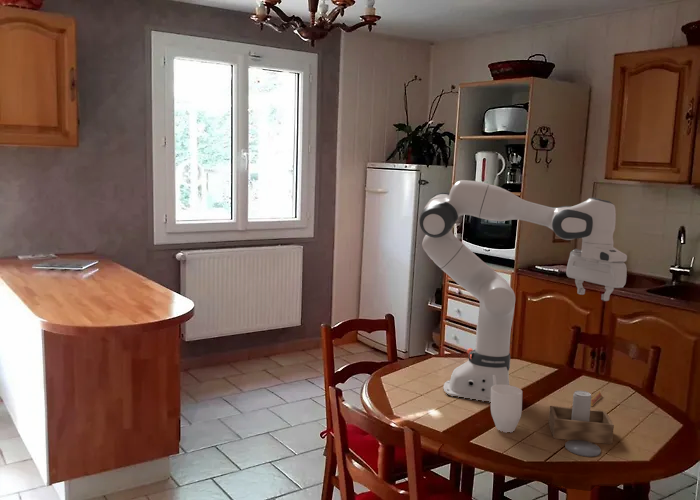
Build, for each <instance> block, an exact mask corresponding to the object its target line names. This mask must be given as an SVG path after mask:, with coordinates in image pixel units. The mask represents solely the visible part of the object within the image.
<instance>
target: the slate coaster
mask: <svg viewBox="0 0 700 500" xmlns="http://www.w3.org/2000/svg"><path fill="white" fill-rule="evenodd" d="M564 447H565V449H566V450H567V451H569V452H570V453H572V454H574V455H577V456H582V457H591V458H592V457H598V456H600V455H601V451H602V450H601V448H600V447H599V445H597V444H595V443H594V442H588V441H583V440H568V441H566V442H565V446H564Z"/></svg>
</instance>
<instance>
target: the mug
mask: <svg viewBox="0 0 700 500" xmlns="http://www.w3.org/2000/svg"><path fill="white" fill-rule="evenodd" d="M522 411H523V390H522V389H521V388H519V387H517V386H515V385H510V384H509V385H494V386H492V387H491V403H490V414H491V417H492V419H493V422H494V425H495V428H496V429H497V431H499V430H500V431H499V432H502V431H503V432H502V433H507V432H510V433H513V431H515V430H516V428H517V426H518V424H519V422H520V420H521V418H522Z"/></svg>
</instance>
